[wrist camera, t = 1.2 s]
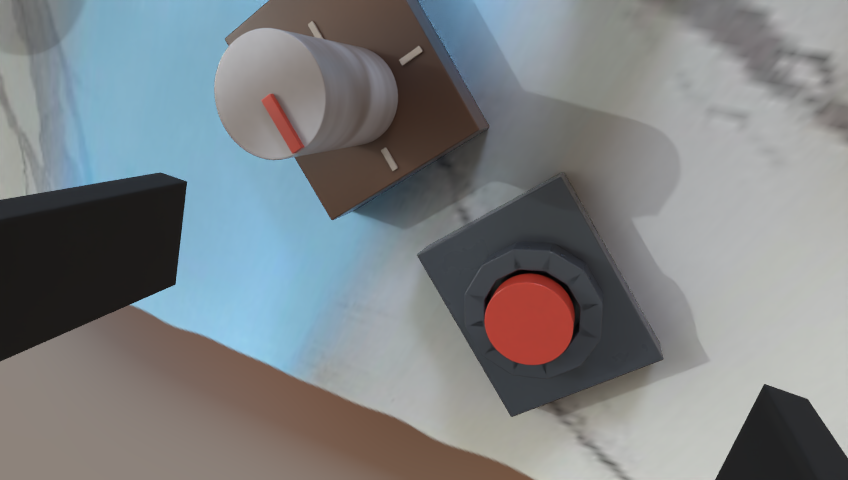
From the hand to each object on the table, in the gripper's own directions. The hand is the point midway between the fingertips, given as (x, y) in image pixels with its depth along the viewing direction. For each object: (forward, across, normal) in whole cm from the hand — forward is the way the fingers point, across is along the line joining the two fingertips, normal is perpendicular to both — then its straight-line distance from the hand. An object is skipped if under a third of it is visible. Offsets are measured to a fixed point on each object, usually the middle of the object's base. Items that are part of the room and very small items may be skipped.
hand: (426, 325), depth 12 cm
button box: (+23, +2, -7) cm, 24 cm away
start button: (+20, +2, -7) cm, 21 cm away
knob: (+20, -11, +2) cm, 23 cm away
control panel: (+23, -12, +3) cm, 26 cm away
